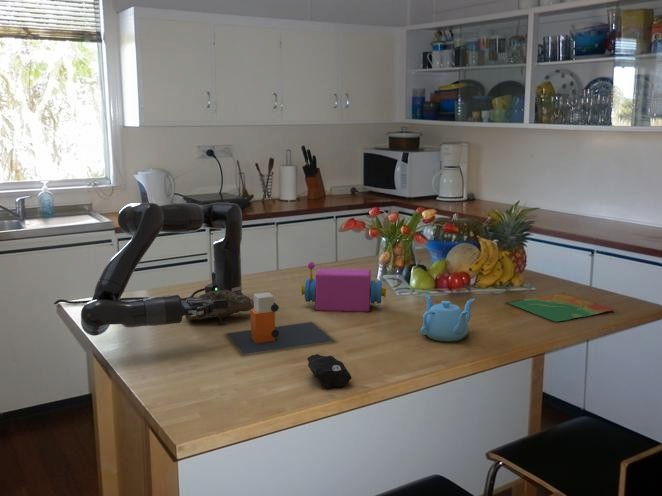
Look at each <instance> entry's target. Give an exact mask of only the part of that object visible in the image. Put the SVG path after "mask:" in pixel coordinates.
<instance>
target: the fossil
mask: <svg viewBox="0 0 662 496" xmlns="http://www.w3.org/2000/svg"><path fill="white" fill-rule="evenodd" d="M198 297H200V298H209V299H211V300H212V301H213V300H221V299H226V300H227V301H228V307H227V308H224V309H215V310H214V311H213V313H211V314H208V315H206V316H203V317H202V318H205V317H208V318H209V317H213V318H214V317H215V318H219V321H220V324H223V318H222V317H229V316H232V315H234V314H238V313H241V312H249V311H250V309H254V300H253V299H251V298H250V297H249V296H247V295H244V293H243V292H242V293H241V292H233V291H230V290H220V291H219V290H217V291H216V290H214V291H210V292H208V293H203V294H201V295H199V296H198ZM184 316H185V315H184ZM185 319H186V320H188V321H193V320H196V319H198V318H197V315H196V316H191V317H190V316H185Z"/></svg>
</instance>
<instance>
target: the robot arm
mask: <svg viewBox="0 0 662 496" xmlns="http://www.w3.org/2000/svg"><path fill="white" fill-rule="evenodd" d="M117 224H118V227H119V228H120V230H121V231H122V232H123V233H124V234H126V235H128V236H132V237H131V238H130V240H129V241H128V242H127V244H126V245H125V246H123V248H122V249H120V251H118V252H117V253H116V254H115V255H114V256H113V257H112V258H111V259H110V260H109V261H108V263H107V264H106V265H105V267H104V269H102V272H101V274H100V276H99V278H98V280H97V282H96V285H95V288H94V292H93V293H94V294H93V295H92V297H91V299H89V300H73V301H72V300H67V299H58V300H56V301H55V302H54V303H53V305H57V304H59V303H66V304H71V305H74V304H76V305H78V304H84V306H83V307H82V308H81V311H80V325H81V328H82V330H83V331H84V332H85V333H86V334H87V335H89V336H99V335H102V334H104V333H105V332H106V331H107V330H108V329H109V327H110V326H111V325H121V326H122V327H124V328H125V329H126V328H127V329H131V328H141V327H157V326H158V327H159V326H166V325H174V324H180V323H182V322H183V317H184V316H190V317H191V316H196V315H197V318H196V319H202V318H204V317H203V316H206V315H208V314H211V313H213V311H214V310H215V309H224V308H227V307H228V301H227V300H226V299H221V300H213V301H212V300H211V299H209V298H200V297H199V296H196V294H198V293H200V292H204V294H206V293H208V292H210V291H214V290H216V291H217V290H219V291H220V290H230V291H233V292H241V293H242V294H243V286H242V285H243V284H242V283H243V282H242V253H241V245H242V240H243V211H242V208H241V206H240V205H239V204H237V203H233V202H232V203H231V202H212V203H208V204H202V205H201V204H198V203H193V202H176V203H169V204H163V205H162V204H161V205H159V204H157V203H154V202H138V203H137V202H135V203H129V204H127V205H125V206H124V207H122V208H121V210H120V211H119V213H118V215H117ZM202 228H207V229H212V230H220V231H225V232H224V237H222V238H220V239H216V240H214V242H213V243H212V252H213V253H212V254H213V255H212V257H213V271H212V272H211V282H210V283H209V284H207V285H205V286H204V287H203V288H200V289H197V290H196V291H194V292H193V293H192V294H191V295H190V296H188V297H182V298H181V296H180V295H179V294H170V295H163V296H162V295H161V296H142V297H141V296H140V297H139V296H138V297H137V296H134V297H122V296H123V295H124V292H125V290H126V288H127V286H128V284H129V281H130V279H131V277H132V276H133V273H134V272H135V270H136V268H137V267H138V265H139V263H140V261H141V260H142V259H143V257H144V256H145V254H146V253H147V251H148V250H149V249H150V247H151V245H152V244H154V241H155V240H156V239H157V237H158V236H159V234H160V233H169V234H170V233H171V234H189V233H194V232H198V231H199V230H200V229H202ZM206 317H207V316H206Z"/></svg>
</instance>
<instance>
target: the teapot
mask: <svg viewBox="0 0 662 496" xmlns="http://www.w3.org/2000/svg"><path fill="white" fill-rule="evenodd" d="M424 297H425V299H426V308H425V312H424V313H423V314H422V327H421V328H420V334H421V335H424V336H426V337H428V338H429V339H430V340H434V341H439V342H456V341H461V340H462V339H464V338H465V337H466V336H467V335H468V333H469V322H470V320H471V316H472V315H471V314H472V313H471V312H472V311H471V310H472V304H473V302H474V301H475V299H476V298H473V297H472V298H470V299H469V300H467V302H466V303H465V305H464V309H463V310H462V309H461V308H460V306H459V305H457V304H453V303H452V302H451V301H450V300H442V301H441V302H440V303H435V304H434V303H433V300H432V298H431V296H430V295H429V294H427V293H425V294H424Z"/></svg>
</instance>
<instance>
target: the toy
mask: <svg viewBox="0 0 662 496" xmlns="http://www.w3.org/2000/svg"><path fill="white" fill-rule="evenodd" d="M315 267H316V264H315V262H313V261H309V262H308V263H307V268H308V269H309V270H310V273H309V274H310V275H309V278H306V279H305V283H304V285H301V288H300V289H301V290H300V291H301V292H300V293H301V296H304V301H305V302H306V303H311V302H312V303H315V310H316V311H327V312H329V311H330V312H359V313H361V312H363V313H365V312H370V310H371V304H375V303H376V304H378V305H379V304H382V297H384V298H386V297H387V287H386V286H385V287H382V286H383V285H382V281H383V280H377V281H376V280H372V279H371V278H372V276H371V275H372V274H371V272H372V271H371V269H364V268H363V269H359V268H358V269H357V268H354V269H353V268H318V269H317V270H316V272H315V275H314V277H315V278H313V269H314V268H315Z"/></svg>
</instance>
